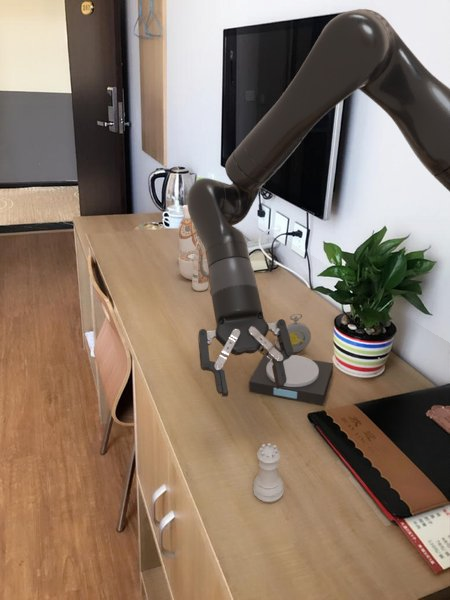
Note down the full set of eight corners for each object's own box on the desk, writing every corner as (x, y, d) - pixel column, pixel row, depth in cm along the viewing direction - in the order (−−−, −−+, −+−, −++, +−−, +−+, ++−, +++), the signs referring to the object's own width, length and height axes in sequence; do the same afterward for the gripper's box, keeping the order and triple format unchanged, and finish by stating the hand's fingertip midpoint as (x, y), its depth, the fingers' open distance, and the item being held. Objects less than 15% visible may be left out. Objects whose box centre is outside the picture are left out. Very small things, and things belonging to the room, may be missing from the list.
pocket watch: (288, 336, 114) (289, 296, 110) (318, 349, 108) (320, 308, 104) (263, 349, 109) (263, 308, 105) (293, 364, 104) (294, 321, 99)
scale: (332, 373, 100) (333, 359, 99) (322, 406, 91) (323, 391, 89) (264, 362, 105) (265, 348, 103) (248, 392, 95) (248, 378, 94)
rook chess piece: (248, 499, 72) (248, 456, 69) (258, 477, 76) (258, 435, 72) (278, 507, 71) (279, 464, 67) (287, 484, 74) (288, 442, 71)
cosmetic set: (219, 292, 137) (216, 225, 129) (185, 295, 136) (180, 228, 127) (204, 260, 159) (201, 201, 151) (175, 263, 158) (170, 204, 150)
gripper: (192, 288, 76) (208, 395, 71) (282, 278, 78) (305, 380, 73) (189, 305, 83) (204, 403, 78) (272, 295, 85) (292, 389, 80)
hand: (253, 392), depth 75 cm, fingers open, 8 cm apart
